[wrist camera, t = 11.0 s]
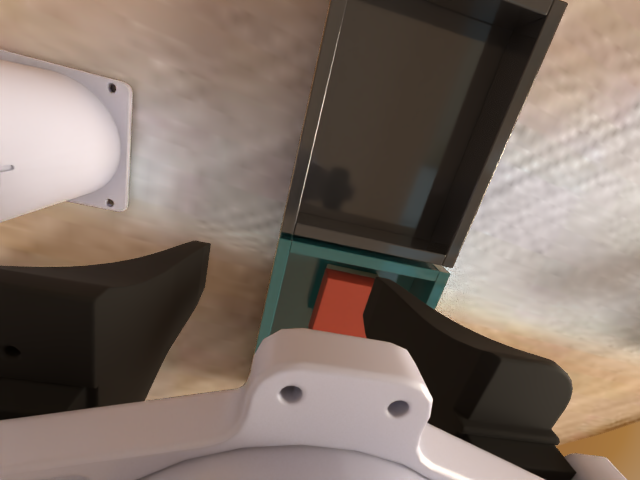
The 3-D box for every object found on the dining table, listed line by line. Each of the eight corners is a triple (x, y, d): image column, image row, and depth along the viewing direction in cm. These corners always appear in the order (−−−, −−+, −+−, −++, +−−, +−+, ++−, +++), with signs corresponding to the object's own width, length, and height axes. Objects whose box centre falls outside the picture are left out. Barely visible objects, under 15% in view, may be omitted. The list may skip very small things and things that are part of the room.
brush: (290, 374, 26) (289, 409, 23) (324, 260, 22) (328, 282, 19) (341, 382, 27) (347, 417, 24) (382, 272, 23) (395, 296, 20)
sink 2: (283, 216, 22) (280, 232, 19) (338, -42, 17) (348, -81, 14) (431, 249, 23) (452, 268, 20) (522, 23, 18) (569, 2, 15)
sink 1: (247, 382, 27) (240, 416, 24) (281, 221, 22) (279, 238, 19) (371, 398, 28) (380, 433, 25) (430, 253, 24) (450, 273, 20)
